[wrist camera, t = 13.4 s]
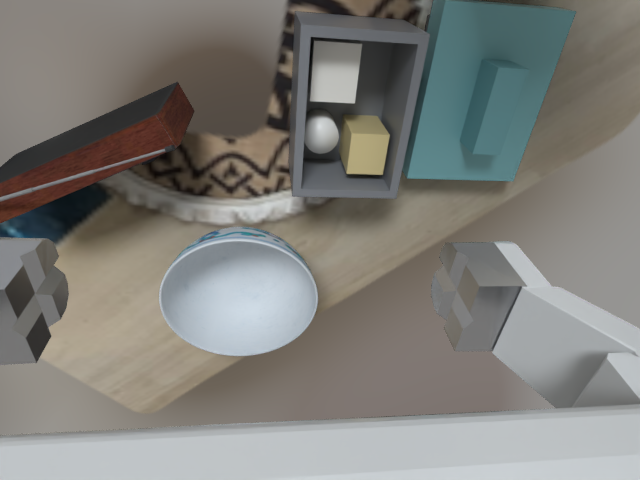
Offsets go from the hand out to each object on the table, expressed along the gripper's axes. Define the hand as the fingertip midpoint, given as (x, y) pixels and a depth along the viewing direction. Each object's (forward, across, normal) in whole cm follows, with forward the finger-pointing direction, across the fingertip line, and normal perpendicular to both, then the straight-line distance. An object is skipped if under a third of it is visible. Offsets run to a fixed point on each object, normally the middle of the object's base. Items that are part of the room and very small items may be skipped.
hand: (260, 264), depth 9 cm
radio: (+31, +13, +9) cm, 35 cm away
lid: (+31, -19, +4) cm, 36 cm away
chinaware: (+31, +2, +23) cm, 39 cm away
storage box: (+31, -7, +5) cm, 32 cm away
